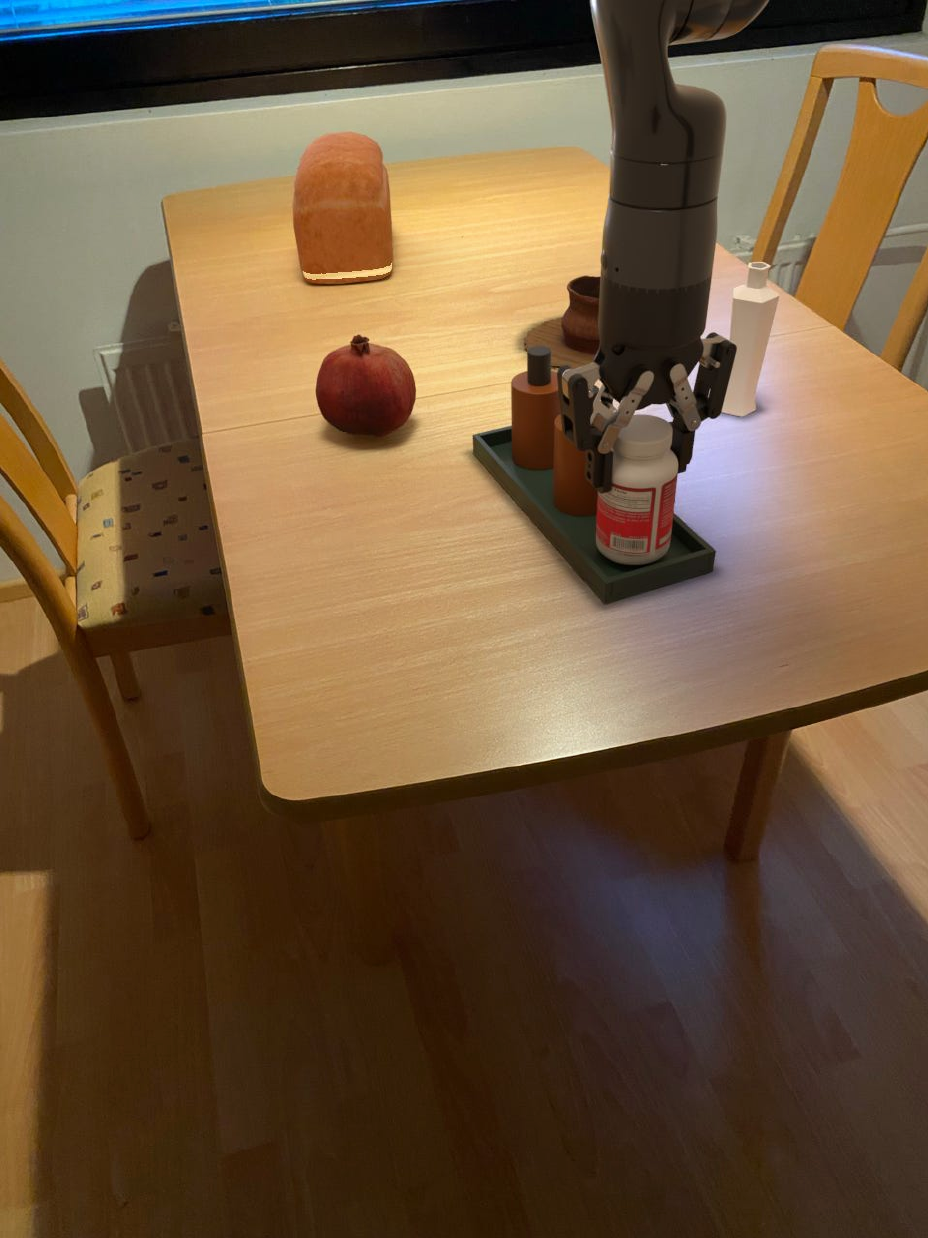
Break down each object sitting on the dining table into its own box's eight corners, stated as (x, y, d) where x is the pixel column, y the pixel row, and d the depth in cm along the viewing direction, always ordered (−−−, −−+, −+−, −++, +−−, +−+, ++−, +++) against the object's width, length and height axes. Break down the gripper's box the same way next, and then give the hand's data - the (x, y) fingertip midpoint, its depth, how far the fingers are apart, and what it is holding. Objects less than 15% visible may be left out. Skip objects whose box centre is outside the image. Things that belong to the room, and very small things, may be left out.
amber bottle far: (550, 439, 94) (552, 334, 87) (574, 462, 90) (578, 355, 83) (503, 451, 93) (501, 345, 86) (525, 475, 89) (525, 366, 82)
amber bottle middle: (592, 481, 88) (598, 371, 81) (620, 507, 84) (629, 395, 77) (543, 494, 86) (544, 383, 79) (569, 521, 82) (573, 408, 75)
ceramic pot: (627, 305, 122) (631, 250, 118) (698, 356, 109) (706, 296, 105) (500, 329, 118) (499, 273, 114) (559, 385, 105) (560, 324, 101)
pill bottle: (646, 519, 81) (658, 403, 74) (683, 557, 77) (698, 437, 70) (582, 536, 80) (587, 418, 73) (615, 575, 75) (624, 454, 68)
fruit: (304, 427, 100) (289, 337, 93) (381, 399, 104) (372, 311, 98) (357, 465, 93) (344, 371, 87) (437, 433, 97) (431, 341, 91)
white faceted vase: (765, 403, 99) (790, 261, 90) (751, 420, 97) (775, 275, 87) (723, 394, 101) (744, 254, 92) (708, 410, 99) (728, 268, 89)
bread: (299, 288, 133) (281, 169, 123) (309, 231, 153) (294, 125, 143) (395, 281, 133) (385, 162, 123) (393, 226, 153) (383, 120, 143)
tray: (563, 431, 97) (563, 412, 95) (713, 571, 77) (716, 550, 76) (472, 453, 94) (472, 434, 93) (604, 604, 74) (605, 583, 73)
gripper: (589, 301, 59) (579, 524, 69) (778, 263, 62) (742, 479, 73) (537, 266, 64) (535, 477, 75) (714, 232, 68) (689, 438, 79)
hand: (638, 477), depth 74 cm, fingers closed on pill bottle, 6 cm apart
